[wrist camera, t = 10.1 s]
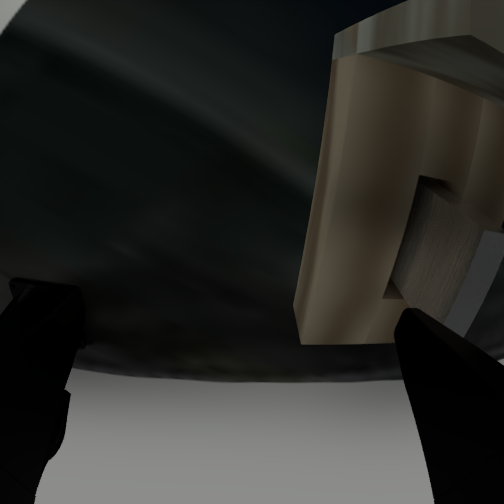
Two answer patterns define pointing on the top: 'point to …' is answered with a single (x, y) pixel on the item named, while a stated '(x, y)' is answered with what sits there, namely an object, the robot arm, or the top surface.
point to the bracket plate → (447, 256)
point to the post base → (398, 154)
